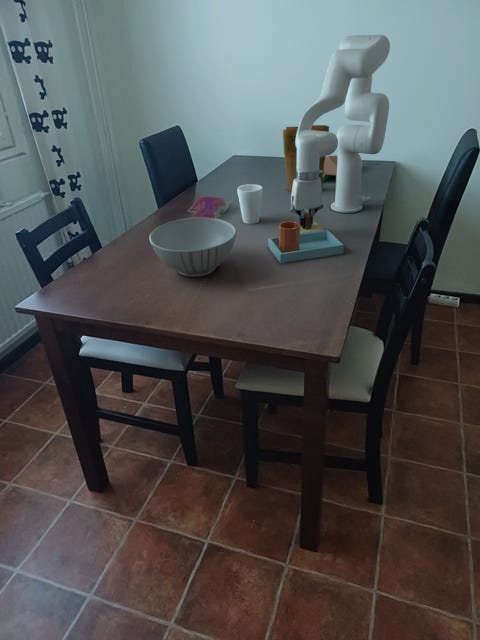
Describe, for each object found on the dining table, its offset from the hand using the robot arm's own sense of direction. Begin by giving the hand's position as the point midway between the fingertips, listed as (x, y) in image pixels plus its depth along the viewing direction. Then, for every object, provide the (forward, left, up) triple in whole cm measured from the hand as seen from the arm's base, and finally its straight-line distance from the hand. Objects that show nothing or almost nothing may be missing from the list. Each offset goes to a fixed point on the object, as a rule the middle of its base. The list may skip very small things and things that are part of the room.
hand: (306, 226), depth 169 cm
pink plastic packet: (+30, -33, -3) cm, 44 cm away
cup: (+10, +13, -3) cm, 17 cm away
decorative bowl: (+42, +13, -3) cm, 44 cm away
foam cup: (+15, -21, -3) cm, 26 cm away
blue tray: (+5, +13, -3) cm, 14 cm away
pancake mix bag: (-17, -48, -3) cm, 51 cm away
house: (-37, -69, -3) cm, 78 cm away
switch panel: (+1, 0, -3) cm, 3 cm away
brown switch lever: (0, 0, 0) cm, 0 cm away
